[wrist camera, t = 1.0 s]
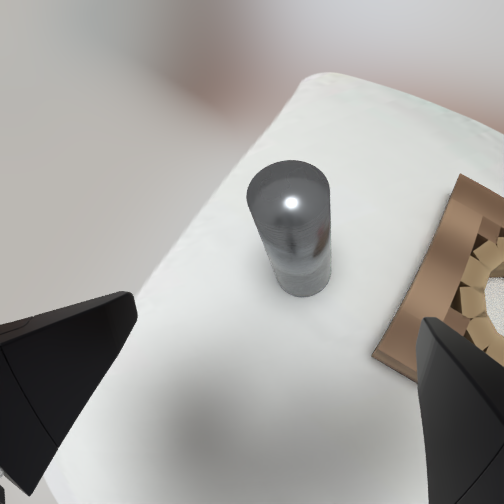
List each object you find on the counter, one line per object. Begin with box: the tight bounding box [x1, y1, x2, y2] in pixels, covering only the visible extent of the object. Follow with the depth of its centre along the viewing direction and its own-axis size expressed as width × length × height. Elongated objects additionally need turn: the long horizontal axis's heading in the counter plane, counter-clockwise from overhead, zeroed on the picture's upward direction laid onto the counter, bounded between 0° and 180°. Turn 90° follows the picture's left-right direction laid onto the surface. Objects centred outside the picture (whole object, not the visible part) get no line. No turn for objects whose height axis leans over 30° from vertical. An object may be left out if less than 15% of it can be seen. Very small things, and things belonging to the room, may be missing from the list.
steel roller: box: [247, 160, 331, 297], centre depth 20 cm, size 4×4×10 cm
